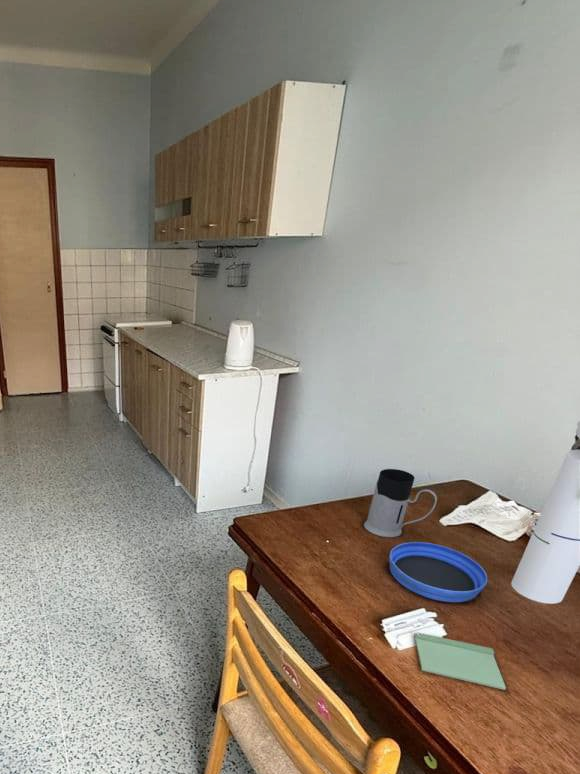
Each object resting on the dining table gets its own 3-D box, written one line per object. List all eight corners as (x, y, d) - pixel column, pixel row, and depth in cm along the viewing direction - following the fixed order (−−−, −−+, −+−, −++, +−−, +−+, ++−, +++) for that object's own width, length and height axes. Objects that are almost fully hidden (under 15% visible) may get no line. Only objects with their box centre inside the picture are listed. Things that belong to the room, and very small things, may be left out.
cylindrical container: (554, 609, 78) (623, 471, 66) (504, 588, 83) (560, 457, 72) (568, 592, 82) (636, 459, 70) (520, 573, 87) (575, 446, 75)
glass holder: (374, 516, 126) (387, 464, 119) (430, 537, 117) (448, 483, 110) (357, 527, 122) (370, 474, 115) (414, 550, 112) (432, 494, 105)
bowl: (368, 565, 107) (371, 552, 105) (426, 548, 113) (430, 535, 111) (439, 614, 92) (444, 600, 91) (502, 592, 98) (508, 578, 96)
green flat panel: (490, 651, 84) (492, 647, 83) (505, 690, 76) (507, 686, 76) (414, 634, 88) (415, 630, 87) (421, 670, 80) (423, 666, 80)
